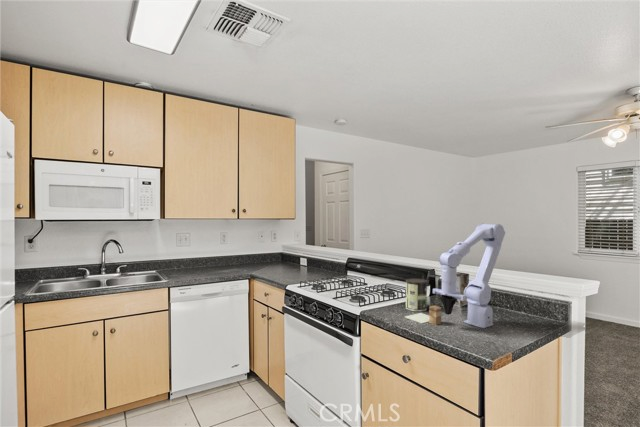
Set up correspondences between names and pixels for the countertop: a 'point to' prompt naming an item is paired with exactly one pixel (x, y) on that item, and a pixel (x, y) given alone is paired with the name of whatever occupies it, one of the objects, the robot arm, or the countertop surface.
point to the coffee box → (461, 287)
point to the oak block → (435, 315)
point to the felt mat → (419, 317)
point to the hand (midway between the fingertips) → (448, 313)
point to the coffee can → (416, 294)
